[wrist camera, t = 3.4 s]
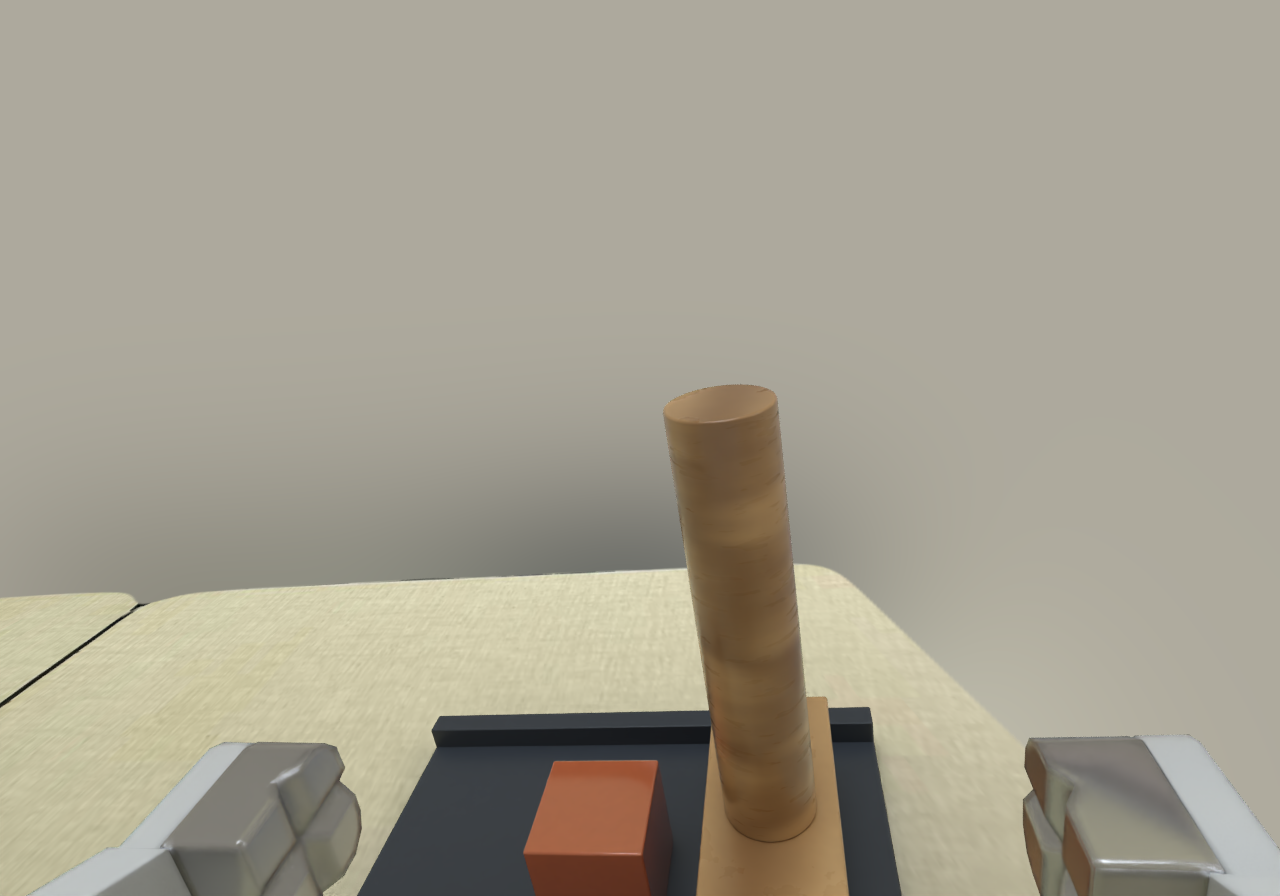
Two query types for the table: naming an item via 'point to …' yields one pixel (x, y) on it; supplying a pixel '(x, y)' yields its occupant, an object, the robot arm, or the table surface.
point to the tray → (530, 743)
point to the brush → (752, 655)
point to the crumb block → (601, 831)
